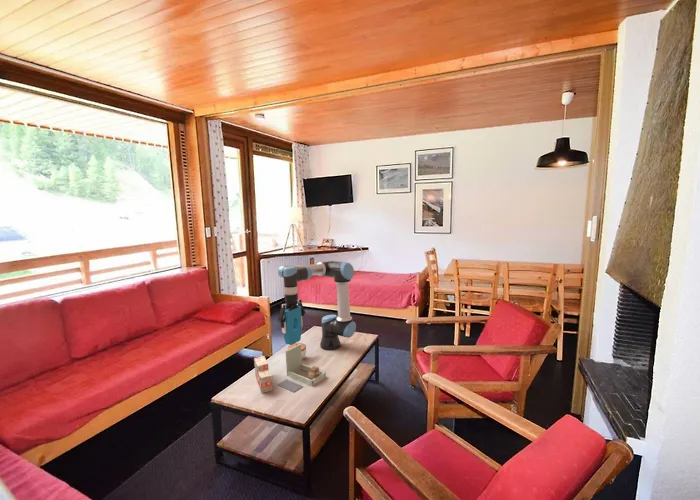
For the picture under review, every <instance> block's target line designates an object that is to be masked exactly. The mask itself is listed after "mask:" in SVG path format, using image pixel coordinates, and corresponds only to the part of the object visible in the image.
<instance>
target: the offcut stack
mask: <svg viewBox="0 0 700 500" xmlns="http://www.w3.org/2000/svg"><path fill="white" fill-rule="evenodd" d="M311 367H312V368H310V372H308V376H307V378H308V379H310V380H313V379H314V378H316V377H318V376H319V375H320V374H319V370H320V367H319V366H317V365H313V366H311Z"/></svg>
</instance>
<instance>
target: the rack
mask: <svg viewBox="0 0 700 500" xmlns="http://www.w3.org/2000/svg"><path fill="white" fill-rule="evenodd" d="M302 360H303V359H302V357H301V344H299V345H297V346H295V347H293V348H291V349H289V350H288V349H287V350H285V363H286V365H285V367H286V376H288V377H289V378H292V379H293V380H297V381H299V382H302V383H304V384H306V385H308V386H311V387H314V386H315V385H317V384H318V383H319V382H321V381H322V380H324V379H325V378H327V376H326V375H327V373H326V372H325V371H322V370H320V369H319V374H320V375H319V376H318V377H316V378H314V379H313V380H310V379H308V377H306V376H303V375H300V374H298V373H296V372H298V371H299V370H303V371H305V372H306V371H307V372H308V373H309V372H310V368H312V367H313V366H310V365H307V364H303V361H302Z"/></svg>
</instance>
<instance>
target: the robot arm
mask: <svg viewBox="0 0 700 500" xmlns="http://www.w3.org/2000/svg"><path fill="white" fill-rule="evenodd" d="M277 275H278V276H279V277H280V278H283V291H284V301H285V303H281V304H280V310H279V314H278V317H277V322H279V323H280V328H281V334H283V333H286V322H285V319H286V316H284V312H285V310H286V311H290V310H291V309H294V308H298V306H301V320H302V321H303V320H304V316H305V314H306V311H305V308H304V306H303V302H302V299H299V297H298V296H299V293H298V291H299V290H298V283H299V282H301V281H307V280H309V279H311V278H312V276H318V277H327V278H333V281H334V283H335V284H336V299H337V301H336V302H337V314H328V315H323V317H322V318H321V334H322V335H321V340H320V343H319V344H320V345H319V346H320V349H323V350H326V351H333V350H337V349H339V348H340V347H341V340H340V338H339V336H340V337H342V338H347V339H348V338H351V337H352V336H354V334H355V332H356V328H357V324H356V322H355V321H353V317H352V316H351V307H350V304H351V303H350V282H351V281H352V279H353V278H354V275H355V269H354V267H353V265H352V264H351V263H350V262H346V261H336V260H335V261H334V260H330V261H329V260H328V261H323V262H322V261H321V262H317V263H313V264H300V265H297V264H296V265H281V266H279V268H278V269H277ZM303 326H304V325H303V323H302V328H303Z"/></svg>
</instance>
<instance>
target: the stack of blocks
mask: <svg viewBox="0 0 700 500" xmlns="http://www.w3.org/2000/svg"><path fill="white" fill-rule="evenodd" d="M253 362H254V372H255V379H256V382H257V384H258V387H259V390H260V392H261V394H264V393H267V392H272V391H273V381H272V380H273V375H272V373H271V371H270V369H269V363H268V361H267V359H266V356H265V355H262V356H257V357H254V358H253Z"/></svg>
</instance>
